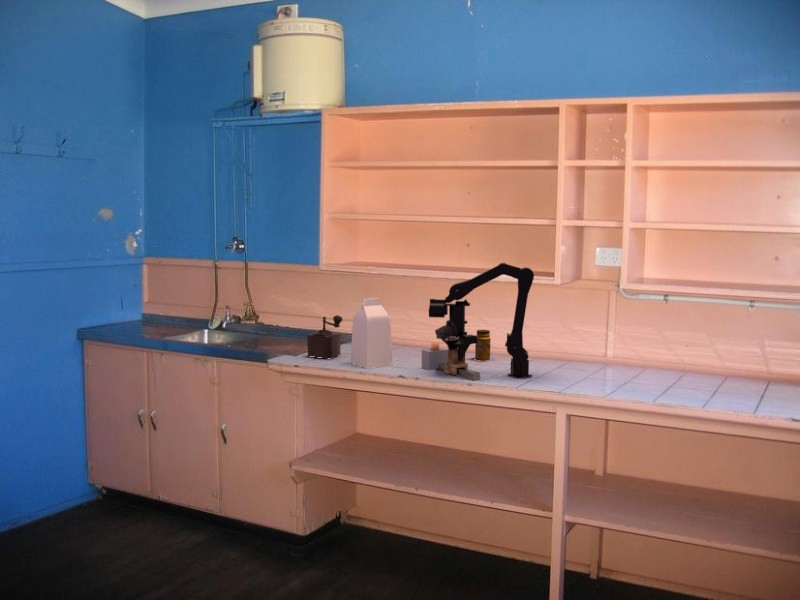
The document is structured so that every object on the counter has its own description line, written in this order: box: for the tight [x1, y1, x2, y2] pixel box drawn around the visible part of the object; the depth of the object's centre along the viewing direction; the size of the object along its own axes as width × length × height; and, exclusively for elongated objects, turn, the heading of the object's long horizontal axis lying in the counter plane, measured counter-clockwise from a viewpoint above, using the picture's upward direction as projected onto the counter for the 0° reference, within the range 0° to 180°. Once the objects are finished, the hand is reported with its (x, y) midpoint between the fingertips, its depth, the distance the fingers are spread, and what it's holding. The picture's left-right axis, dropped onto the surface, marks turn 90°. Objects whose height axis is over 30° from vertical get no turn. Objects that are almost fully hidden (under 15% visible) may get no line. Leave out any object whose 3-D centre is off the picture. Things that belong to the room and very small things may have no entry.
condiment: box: [467, 329, 494, 362], centre depth 325 cm, size 7×8×12 cm
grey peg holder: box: [421, 347, 449, 371], centre depth 307 cm, size 5×9×7 cm, turn 121°
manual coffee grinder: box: [307, 314, 343, 359], centre depth 328 cm, size 16×11×18 cm
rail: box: [435, 363, 481, 381], centre depth 294 cm, size 22×6×2 cm, turn 31°
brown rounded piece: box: [430, 342, 440, 351], centre depth 306 cm, size 3×3×3 cm
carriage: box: [444, 348, 469, 376], centre depth 295 cm, size 6×6×8 cm
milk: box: [350, 297, 394, 369], centre depth 311 cm, size 12×12×26 cm
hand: (456, 360), depth 295 cm, fingers closed on carriage, 4 cm apart
